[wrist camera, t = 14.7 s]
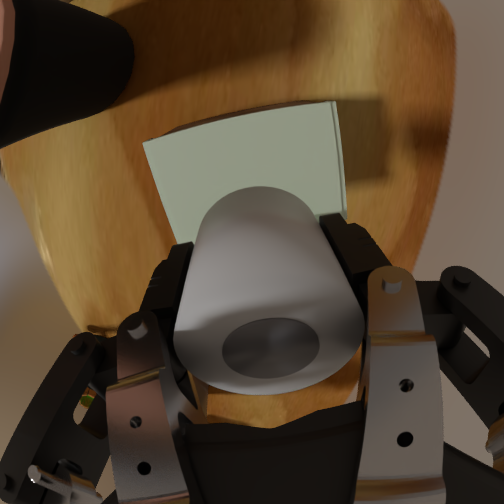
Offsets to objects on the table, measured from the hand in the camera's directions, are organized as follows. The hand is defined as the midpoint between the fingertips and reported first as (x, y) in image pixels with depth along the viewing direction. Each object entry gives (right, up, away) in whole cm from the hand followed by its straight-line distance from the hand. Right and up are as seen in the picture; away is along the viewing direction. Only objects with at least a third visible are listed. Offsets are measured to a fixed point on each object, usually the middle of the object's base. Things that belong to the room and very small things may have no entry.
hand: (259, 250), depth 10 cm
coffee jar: (-16, +18, +9) cm, 26 cm away
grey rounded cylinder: (0, 0, 0) cm, 0 cm away
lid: (0, +6, +10) cm, 11 cm away
